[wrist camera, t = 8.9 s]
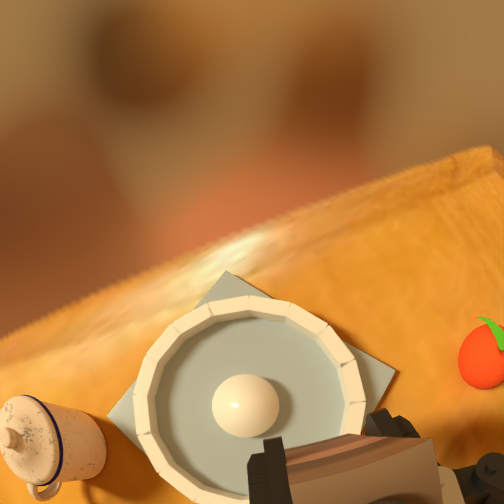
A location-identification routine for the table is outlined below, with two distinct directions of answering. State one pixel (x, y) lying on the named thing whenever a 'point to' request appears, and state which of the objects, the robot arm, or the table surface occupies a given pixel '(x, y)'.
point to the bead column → (364, 471)
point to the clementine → (483, 356)
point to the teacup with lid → (49, 444)
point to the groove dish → (243, 389)
